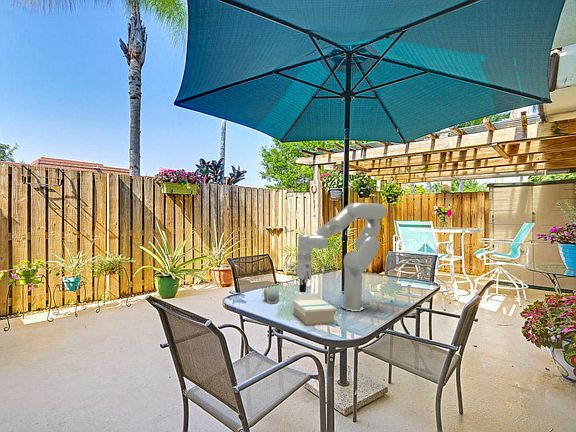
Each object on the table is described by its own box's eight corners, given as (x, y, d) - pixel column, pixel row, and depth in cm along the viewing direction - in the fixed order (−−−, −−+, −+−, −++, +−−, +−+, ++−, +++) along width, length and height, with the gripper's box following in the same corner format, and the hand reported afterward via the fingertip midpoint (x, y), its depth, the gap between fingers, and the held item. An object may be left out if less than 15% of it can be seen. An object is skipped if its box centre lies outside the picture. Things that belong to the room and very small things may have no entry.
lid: (320, 304, 161) (320, 292, 161) (335, 314, 143) (336, 301, 144) (292, 305, 157) (292, 293, 157) (305, 316, 139) (305, 303, 139)
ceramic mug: (263, 299, 183) (263, 286, 183) (276, 299, 185) (277, 286, 185) (266, 304, 173) (266, 291, 173) (280, 304, 175) (280, 290, 175)
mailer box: (318, 312, 161) (319, 300, 161) (333, 323, 144) (334, 310, 144) (293, 313, 157) (294, 301, 157) (306, 325, 139) (306, 312, 139)
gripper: (316, 259, 158) (314, 295, 157) (305, 256, 172) (304, 288, 172) (302, 259, 156) (300, 295, 155) (293, 255, 170) (291, 288, 169)
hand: (302, 291), depth 163 cm, fingers closed
